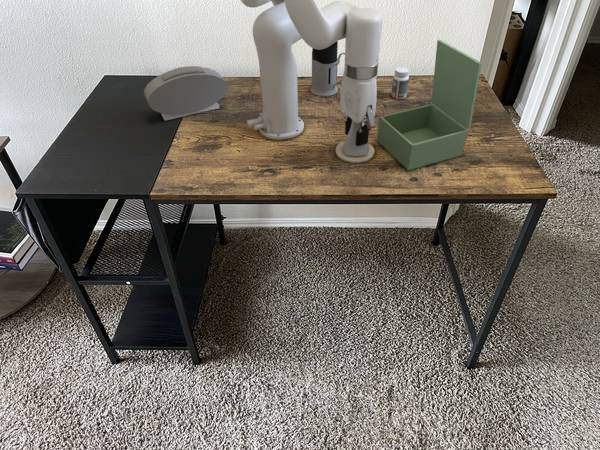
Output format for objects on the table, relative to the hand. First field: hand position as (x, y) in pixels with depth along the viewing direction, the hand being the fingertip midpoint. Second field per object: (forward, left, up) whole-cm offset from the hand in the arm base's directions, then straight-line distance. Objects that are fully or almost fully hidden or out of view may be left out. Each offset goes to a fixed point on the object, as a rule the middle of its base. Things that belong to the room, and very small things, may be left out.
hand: (356, 138), depth 114 cm
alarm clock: (-34, +40, -4) cm, 53 cm away
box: (+16, -5, -4) cm, 17 cm away
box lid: (+23, -5, +12) cm, 26 cm away
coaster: (0, 0, -4) cm, 4 cm away
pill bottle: (+27, +22, -4) cm, 35 cm away
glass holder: (+9, +33, -4) cm, 35 cm away
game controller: (+7, +15, -4) cm, 17 cm away
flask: (0, 0, -4) cm, 4 cm away
